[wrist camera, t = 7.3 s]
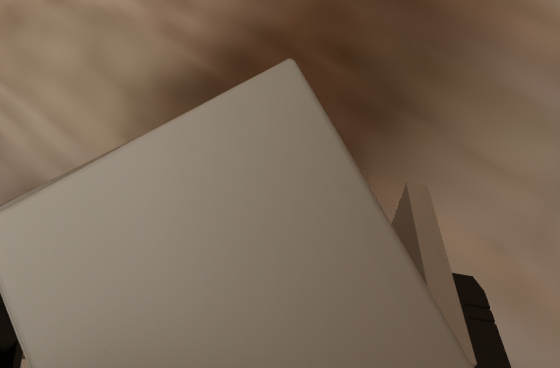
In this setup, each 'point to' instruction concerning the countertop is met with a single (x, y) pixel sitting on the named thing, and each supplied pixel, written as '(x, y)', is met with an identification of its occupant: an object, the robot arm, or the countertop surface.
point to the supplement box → (219, 250)
